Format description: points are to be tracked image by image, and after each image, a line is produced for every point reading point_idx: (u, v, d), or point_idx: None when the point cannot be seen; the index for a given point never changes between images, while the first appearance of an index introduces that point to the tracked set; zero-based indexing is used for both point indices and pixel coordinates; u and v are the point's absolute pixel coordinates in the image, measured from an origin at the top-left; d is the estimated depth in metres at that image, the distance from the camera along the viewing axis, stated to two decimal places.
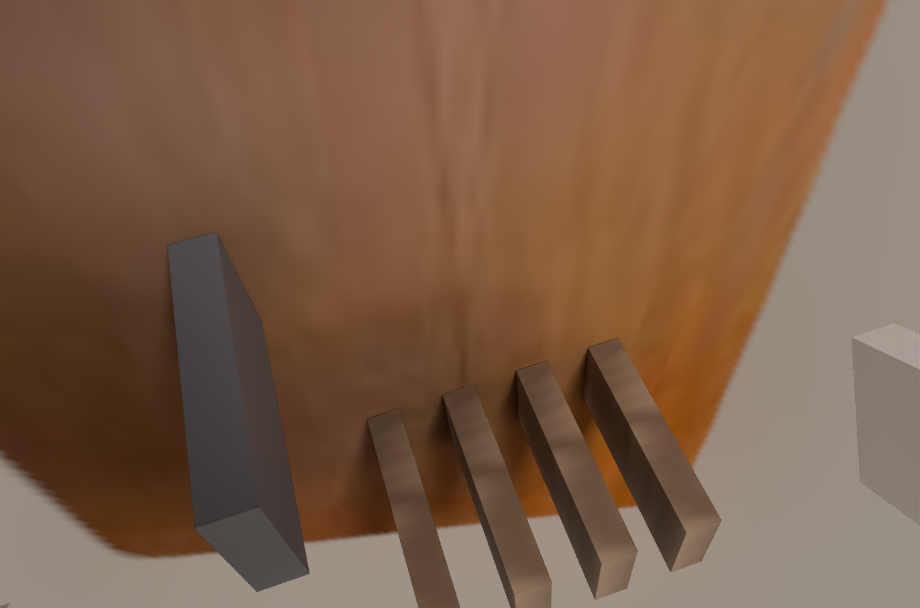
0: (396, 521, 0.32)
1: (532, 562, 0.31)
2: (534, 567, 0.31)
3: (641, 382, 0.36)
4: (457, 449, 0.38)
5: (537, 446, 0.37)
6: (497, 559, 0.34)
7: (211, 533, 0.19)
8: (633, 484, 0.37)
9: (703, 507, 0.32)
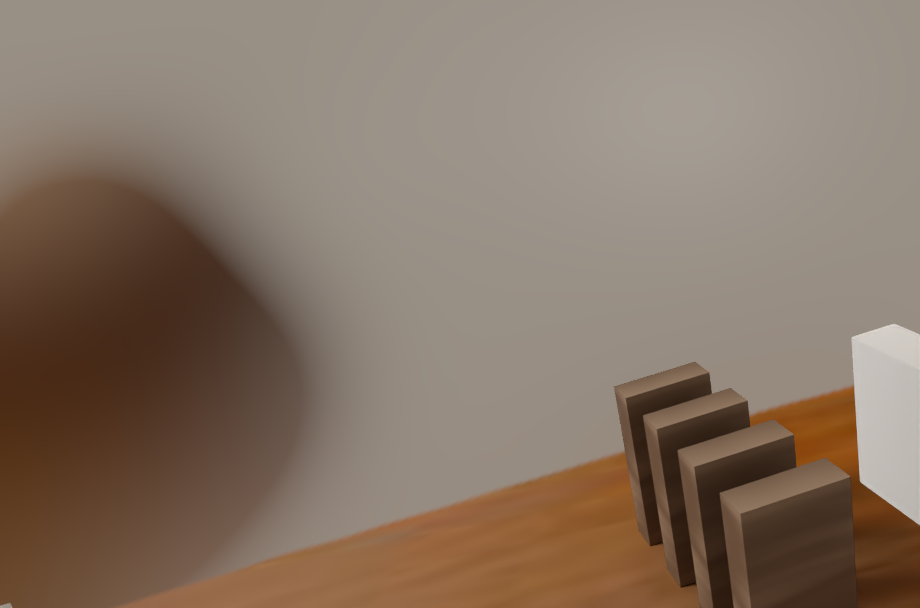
0: (749, 601, 0.32)
1: (684, 472, 0.35)
2: (683, 468, 0.35)
3: (632, 493, 0.45)
4: None
5: None
6: None
7: None
8: None
9: (618, 401, 0.42)
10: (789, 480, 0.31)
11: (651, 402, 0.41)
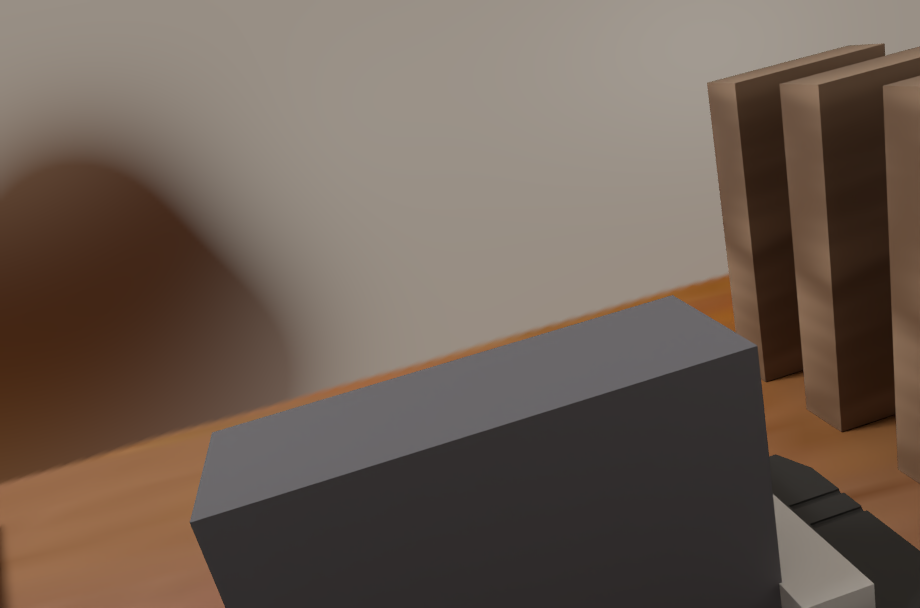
0: None
1: (899, 131, 0.16)
2: (899, 121, 0.16)
3: (732, 294, 0.26)
4: None
5: None
6: None
7: (258, 488, 0.06)
8: None
9: (716, 107, 0.23)
10: None
11: (780, 96, 0.23)
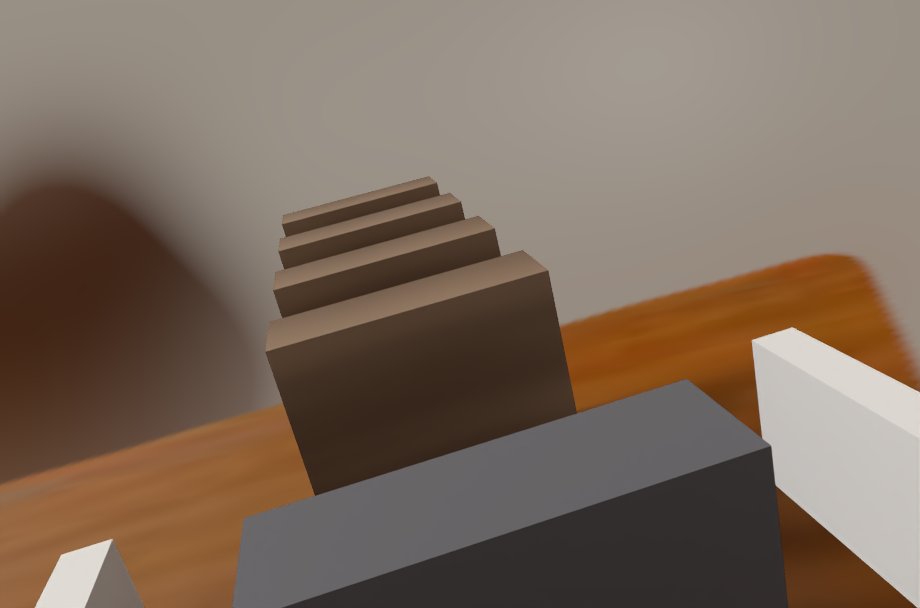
0: None
1: None
2: None
3: None
4: None
5: None
6: None
7: (294, 587, 0.07)
8: None
9: None
10: (420, 289, 0.14)
11: None
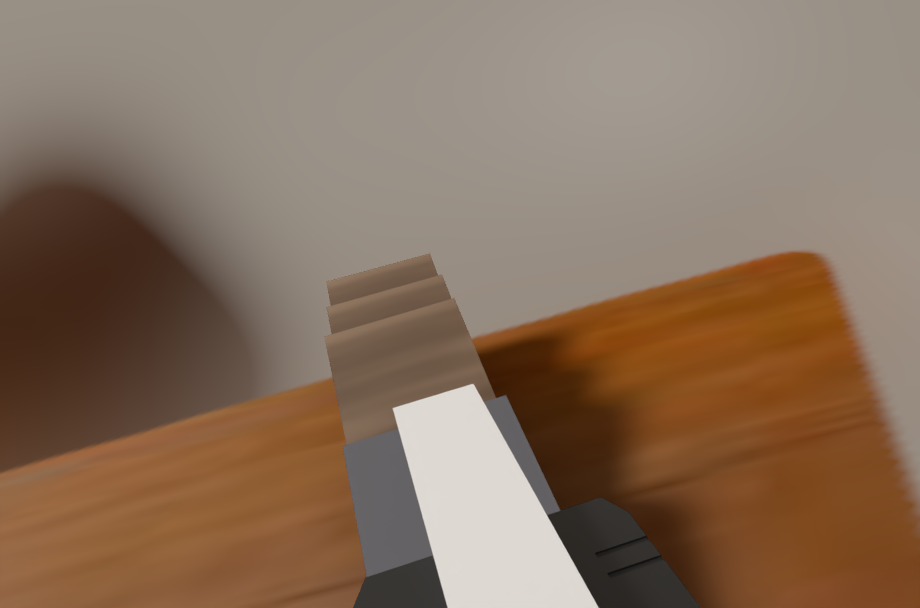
0: (344, 432, 0.24)
1: None
2: None
3: None
4: None
5: None
6: None
7: (362, 445, 0.22)
8: None
9: None
10: None
11: None
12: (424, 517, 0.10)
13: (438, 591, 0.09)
